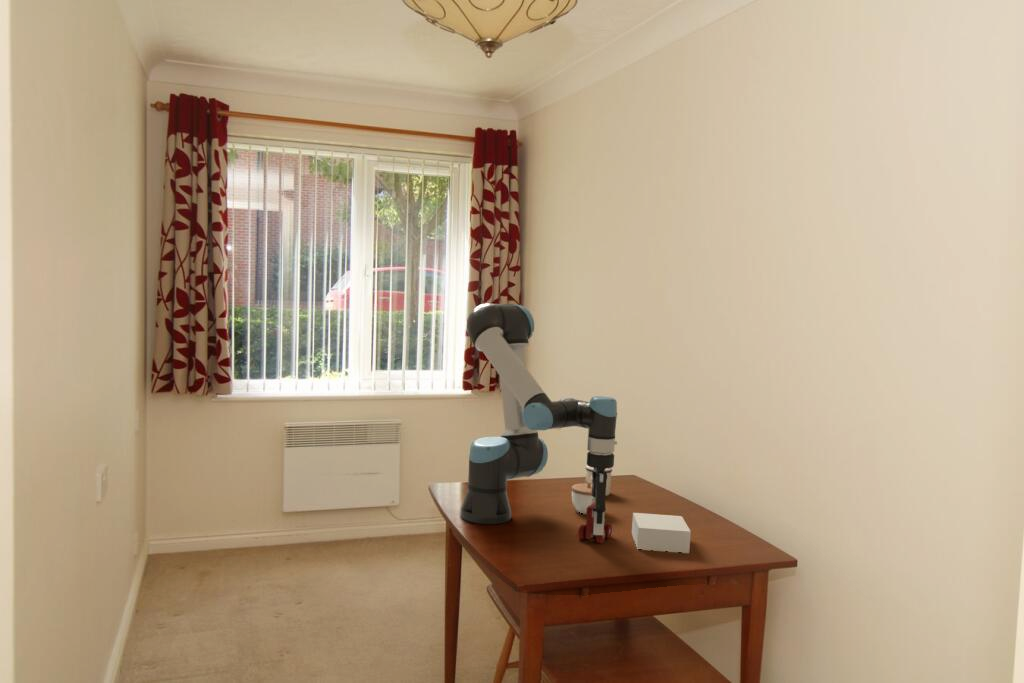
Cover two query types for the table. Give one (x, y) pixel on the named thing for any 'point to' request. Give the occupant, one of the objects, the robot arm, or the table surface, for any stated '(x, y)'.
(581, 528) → the toy fire truck
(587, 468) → the teacup with lid
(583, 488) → the lidded jar
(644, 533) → the cream white block
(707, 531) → the table surface
